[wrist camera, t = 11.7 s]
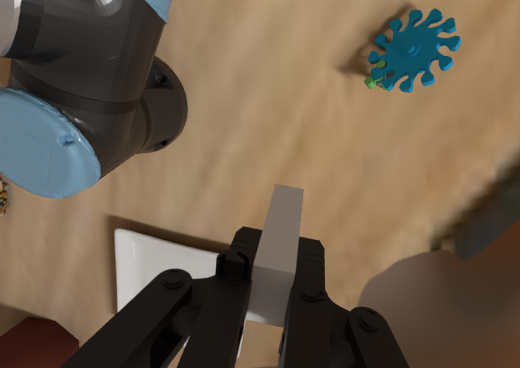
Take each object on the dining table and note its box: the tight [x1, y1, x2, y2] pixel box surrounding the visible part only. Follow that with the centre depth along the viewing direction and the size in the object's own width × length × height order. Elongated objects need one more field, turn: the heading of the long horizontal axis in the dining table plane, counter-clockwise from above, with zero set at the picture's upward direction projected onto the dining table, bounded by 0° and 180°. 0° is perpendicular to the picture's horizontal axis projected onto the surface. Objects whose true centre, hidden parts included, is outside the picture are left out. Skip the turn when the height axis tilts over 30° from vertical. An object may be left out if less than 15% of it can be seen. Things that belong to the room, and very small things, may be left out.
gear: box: [364, 9, 461, 93], centre depth 40 cm, size 11×6×10 cm
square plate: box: [114, 228, 246, 358], centre depth 66 cm, size 27×27×4 cm
